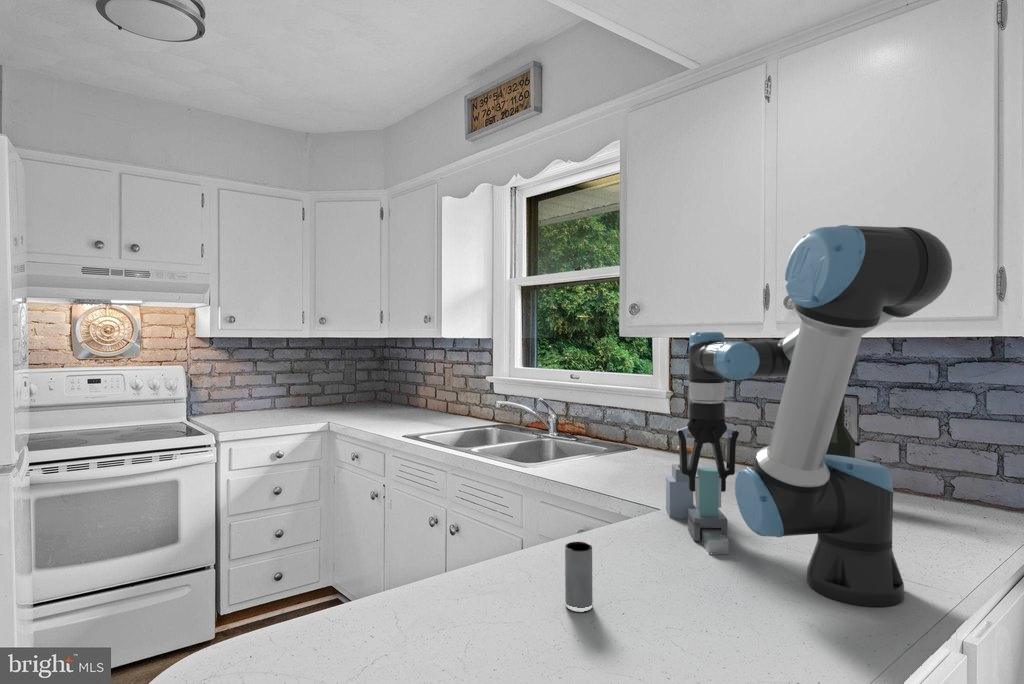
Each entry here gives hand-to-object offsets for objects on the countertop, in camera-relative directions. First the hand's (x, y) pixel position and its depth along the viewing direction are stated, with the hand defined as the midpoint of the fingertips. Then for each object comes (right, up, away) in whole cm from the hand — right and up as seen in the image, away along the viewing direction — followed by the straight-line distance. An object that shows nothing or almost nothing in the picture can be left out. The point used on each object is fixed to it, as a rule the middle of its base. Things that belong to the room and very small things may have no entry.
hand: (707, 505), depth 136 cm
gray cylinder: (-32, -8, -33) cm, 47 cm away
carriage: (0, -7, 0) cm, 7 cm away
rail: (0, -7, +1) cm, 7 cm away
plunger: (0, +2, +17) cm, 17 cm away
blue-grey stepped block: (0, -7, +17) cm, 18 cm away
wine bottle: (+43, -6, +26) cm, 50 cm away
